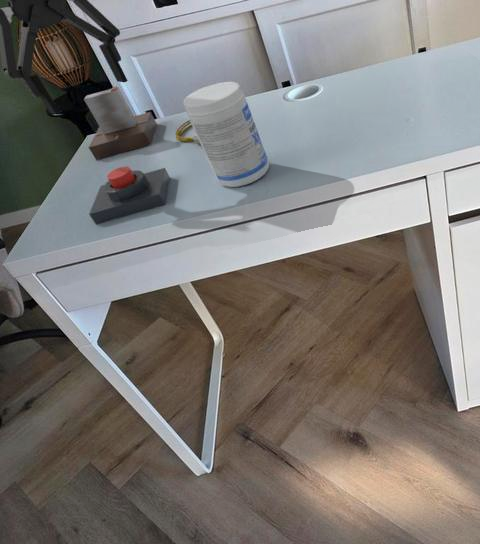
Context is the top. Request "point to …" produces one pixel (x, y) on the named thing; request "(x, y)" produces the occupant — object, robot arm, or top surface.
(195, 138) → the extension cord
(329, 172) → the top surface
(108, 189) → the button block
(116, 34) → the robot arm
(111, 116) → the tap lever
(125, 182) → the red button
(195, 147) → the top surface
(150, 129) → the base
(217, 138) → the supplement tub
